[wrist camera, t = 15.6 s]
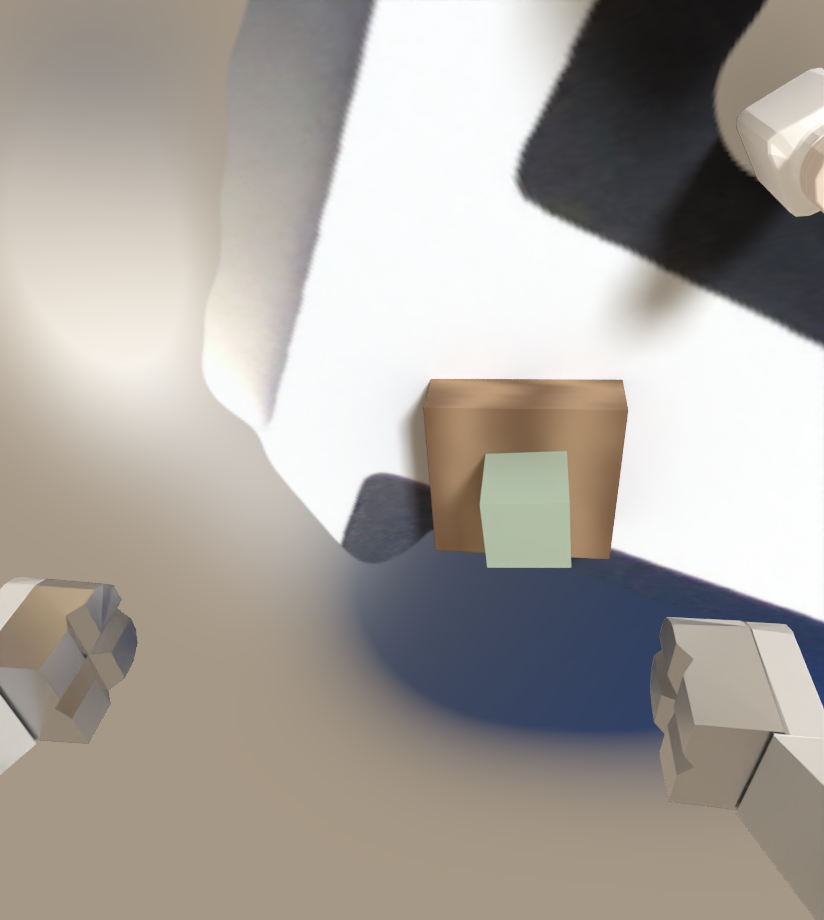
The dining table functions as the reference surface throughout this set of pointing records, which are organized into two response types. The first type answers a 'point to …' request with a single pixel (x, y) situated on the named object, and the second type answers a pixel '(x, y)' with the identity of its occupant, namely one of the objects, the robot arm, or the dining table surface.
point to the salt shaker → (789, 142)
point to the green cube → (526, 510)
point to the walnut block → (524, 450)
